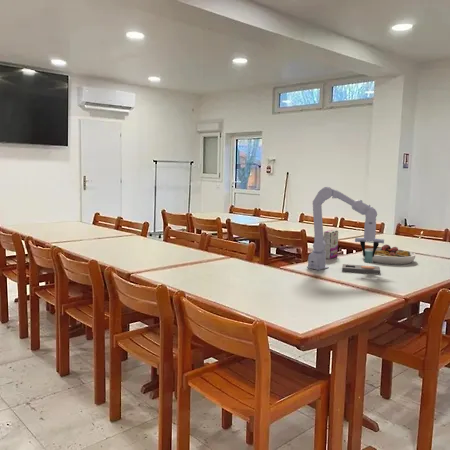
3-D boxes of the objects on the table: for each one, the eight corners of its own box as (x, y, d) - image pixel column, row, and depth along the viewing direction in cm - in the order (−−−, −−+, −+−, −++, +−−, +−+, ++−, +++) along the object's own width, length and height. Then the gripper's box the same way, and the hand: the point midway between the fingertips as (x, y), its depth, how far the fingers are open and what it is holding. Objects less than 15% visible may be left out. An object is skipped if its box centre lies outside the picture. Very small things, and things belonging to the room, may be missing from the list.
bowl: (419, 267, 254) (420, 253, 253) (364, 264, 260) (365, 250, 259) (409, 257, 283) (410, 244, 282) (359, 254, 289) (360, 242, 288)
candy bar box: (330, 255, 282) (331, 229, 280) (337, 256, 279) (338, 230, 277) (322, 258, 274) (323, 231, 272) (330, 259, 270) (331, 232, 269)
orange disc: (370, 269, 234) (370, 269, 234) (358, 267, 239) (358, 266, 239) (377, 267, 239) (377, 267, 239) (365, 265, 244) (365, 265, 244)
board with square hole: (342, 271, 238) (342, 267, 238) (342, 267, 248) (342, 264, 247) (380, 274, 233) (380, 270, 233) (379, 270, 243) (379, 266, 242)
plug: (369, 263, 236) (370, 252, 235) (362, 262, 239) (363, 251, 238) (373, 262, 239) (374, 251, 238) (366, 261, 242) (367, 250, 241)
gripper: (355, 230, 235) (354, 256, 236) (385, 232, 231) (383, 258, 233) (355, 229, 242) (354, 254, 243) (384, 230, 238) (382, 255, 239)
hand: (368, 256), depth 238 cm, fingers closed on plug, 4 cm apart
